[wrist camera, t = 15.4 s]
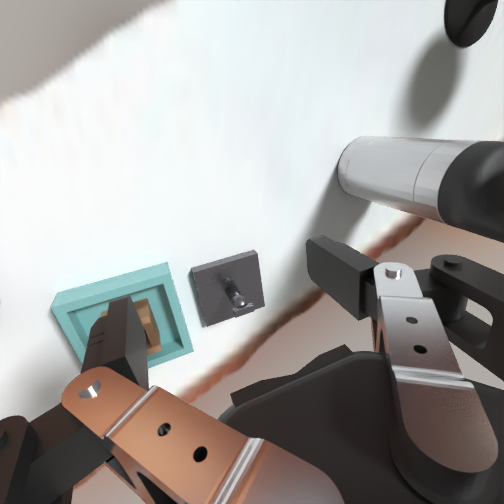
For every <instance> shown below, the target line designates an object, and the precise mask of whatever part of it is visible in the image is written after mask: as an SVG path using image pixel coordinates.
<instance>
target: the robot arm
mask: <svg viewBox="0 0 504 504" xmlns="http://www.w3.org/2000/svg"><path fill="white" fill-rule="evenodd" d="M338 180H339V183H340V185H341V187H342V189H343V190H344V191H345V192H346V193H348V194H350V195H353V196H356V197H360V198H363V199H366V200H369V201H372V202H375V203H378V204H382V205H385V206H388V207H391V208H394V209H398V210H401V211H404V212H407V213H411V214H414V215H417V216H420V217H423V218H427V219H430V220H434V221H437V222H440V223H443V224H446V225H450V226H453V227H456V228H460V229H463V230H466V231H469V232H472V233H475V234H478V235H481V236H484V237H487V238H490V239H494V240H497V241H500V242H503V243H504V142H500V141H473V140H445V139H421V138H396V137H374V136H364V137H360V138H358V139H355V140H354V141H353V142H351V143H350V144H349V145H348V147H347V148H346V149H345V151H344V152H343V154H342V156H341V158H340V161H339V165H338ZM306 253H307V267H308V273H309V276H310V278H311V279H312V280H313V282H315V283H316V284H317V285H318V286H319V287H320V288H321V289H323V290H324V291H325V292H326V293H327V294H328V295H330V296H331V297H332V298H333V299H334V300H335V301H336V302H338V303H339V304H340V305H341V306H342V307H343V308H344V309H346V310H347V311H348V312H349V313H350V314H351V315H353V316H354V317H355V318H356V319H357V320H358V321H359V320H362V319H364V318H366V317H368V316H370V317H371V318H372V319H371V328H372V338H373V349H374V352H371V351H358V352H352V351H351V350H350V349H349V348H348V347H347V346H346V345H345V344H344V345H342V346H340V347H337V348H335V349H332V350H330V351H328V352H326V353H323V354H321V355H319V356H318V357H316V358H315V359H314V360H312V361H311V362H310V363H308V364H307V365H306V366H305V367H303V368H302V369H301V370H300V371H298V372H297V373H295V374H292V375H288V376H283V377H278V378H272V379H267V380H261V381H259V382H257V383H254V384H252V385H249V386H247V387H245V388H243V389H240V390H238V391H236V392H233V393H231V394H230V395H231V398H232V402H233V405H232V406H231V407H229V408H228V409H227V410H226V411H225V412H224V413H223V414H222V415H221V416H220V417H219V418H218V419H215V418H213V417H211V416H210V415H208V414H206V413H204V412H203V411H201V410H199V409H197V408H196V407H194V406H192V405H190V404H189V403H187V402H185V401H183V400H182V399H180V398H178V397H176V396H175V395H173V394H171V393H169V392H167V391H166V390H164V389H162V388H160V387H158V386H155V385H154V386H152V387H151V388H150V389H149V383H148V363H147V343H146V335H145V331H144V328H143V325H142V322H141V320H140V318H139V315H138V313H137V310H136V308H135V306H134V303H133V301H132V299H131V297H130V296H129V295H128V296H125V297H122V298H119V299H116V300H112V301H110V302H109V306H108V312H107V315H106V316H103V317H100V318H98V319H97V320H96V322H95V323H94V324H93V326H92V327H91V329H90V334H89V339H88V343H87V348H86V352H85V356H84V361H83V365H82V370H81V374H80V375H79V376H77V377H76V378H75V379H74V380H72V381H71V382H70V384H69V385H68V386H67V387H66V389H65V390H64V392H63V394H62V398H61V403H60V404H58V405H57V406H55V407H54V408H52V409H51V410H49V411H47V412H46V413H44V414H43V415H41V416H39V417H38V418H36V419H34V420H33V421H31V422H28V421H27V420H26V419H25V418H24V417H22V416H11V417H7V418H4V419H2V420H0V504H71V500H72V492H73V486H74V485H75V484H76V483H78V482H79V481H80V480H82V479H83V478H84V477H86V476H87V475H88V474H90V473H91V472H92V471H93V470H95V469H96V468H97V467H99V466H100V465H101V464H105V465H106V466H107V467H108V468H109V469H110V470H111V471H112V472H113V473H114V474H115V475H116V476H118V477H119V478H120V479H121V480H122V481H123V482H124V483H125V484H126V485H127V486H128V487H129V488H130V489H132V490H133V491H134V492H135V493H136V494H137V495H138V496H139V497H140V498H141V499H142V500H143V501H144V502H145V503H146V504H504V390H501V389H498V388H495V387H491V386H488V385H485V384H482V383H479V382H475V381H472V380H469V379H466V378H464V376H463V374H462V372H461V369H460V367H459V364H458V362H457V359H456V357H455V355H454V352H453V350H452V347H451V345H450V342H452V343H453V344H454V345H456V346H457V347H458V348H460V349H461V350H462V351H464V352H465V353H467V354H468V355H469V356H470V357H472V358H473V359H474V360H476V361H477V362H478V363H480V364H481V365H483V366H484V367H485V368H487V369H488V370H489V371H491V372H492V373H493V374H495V375H496V376H497V377H499V378H500V379H502V380H503V381H504V274H502V273H499V272H497V271H495V270H492V269H490V268H488V267H485V266H483V265H481V264H479V263H476V262H474V261H472V260H469V259H467V258H465V257H461V256H457V255H439V256H436V257H434V258H432V260H431V265H430V269H424V270H416V271H413V269H412V268H410V267H409V266H407V265H405V264H401V263H395V262H386V263H381V264H380V263H378V262H376V261H374V260H373V259H371V258H369V257H367V256H366V255H364V254H362V253H361V254H360V252H358V251H357V250H354V249H353V248H351V247H349V246H348V245H346V244H342V243H338V242H334V241H332V240H330V239H328V238H327V237H325V236H319V237H315V238H312V239H309V240H307V242H306ZM468 298H469V299H471V300H472V301H474V302H476V303H478V304H480V305H481V306H483V307H485V308H486V309H487V310H488V311H489V312H490V313H491V315H492V317H493V323H492V326H490V325H488V324H487V323H485V322H484V321H482V320H480V319H479V318H477V317H475V316H474V315H472V314H470V313H468V312H467V311H465V310H466V306H467V301H468ZM449 341H450V342H449Z"/></svg>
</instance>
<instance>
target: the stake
mask: <svg viewBox="0 0 504 504" xmlns="http://www.w3.org/2000/svg"><path fill="white" fill-rule="evenodd" d="M191 269H192V273H193V277H194V281H195V285H196V288H197V292H198V296H199V300H200V304H201V307H202V311H203V315H204V319H205V322H206V325H207V327H208V326H210V325H213V324H216V323H219V322H222V321H224V320H227V319H230V318H233V317H235V318H236V317H239V316H242V315H245V314H247V313H250V312H253V311H254V310H255V309H258V308H261V307H264V306H265V304H264V297H263V290H262V282H261V275H260V268H259V261H258V253H257V252H256V251H255V250H252V251H248V252H245V253H241V254H238V255H235V256H231V257H228V258H224V259H221V260H218V261H214V262H211V263H207V264H204V265H200V266H197V267H194V268H191Z"/></svg>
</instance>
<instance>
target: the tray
mask: <svg viewBox="0 0 504 504" xmlns="http://www.w3.org/2000/svg"><path fill="white" fill-rule="evenodd" d="M128 295H129V296H130V297H131V299H132V301H133V302H135V301H139V300H142V299H145V298H147V299H148V301H149V304H150V307H151V310H152V312H153V315H154V318H155V321H156V323H157V326H158V329H159V334H160V341H161V348H162V351H159V352H156V353H153V354H151V355H148V356H147V363H148V368H151V367H153V366H156V365H159V364H161V363H164V362H167V361H169V360H172V359H175V358H177V357H180V356H183V355H185V354H188V353H191V352H193V351H194V350H193V347H192V343H191V340H190V336H189V333H188V329H187V326H186V323H185V319H184V316H183V313H182V310H181V306H180V303H179V300H178V296H177V293H176V290H175V286H174V283H173V280H172V276H171V273H170V270H169V267H168V263H167V262H166V263H162V264H159V265H155V266H152V267H148V268H144V269H141V270H137V271H134V272H130V273H127V274H123V275H120V276H116V277H112V278H109V279H105V280H102V281H98V282H95V283H91V284H87V285H84V286H80V287H77V288H73V289H70V290H66V291H63V292H59V293H57V295H56V297H55V299H54V301H53V304H52V306H51V309H52V311H53V313H54V315H55V317H56V318H57V320H58V322H59V324H60V326H61V327H62V329H63V331H64V333H65V335H66V336H67V338H68V340H69V342H70V344H71V345H72V347H73V349H74V351H75V353H76V354H77V356H78V358H79V360H80V362H81V363H82V365H83V361H84V356H85V352H86V348H87V343H88V339H89V334H90V329H91V327H92V326H93V324H94V323H95V322H96V320H97V319H98V318H100V317H101V313H102V312H103V311H106V310H108V306H109V302H110V301H112V300H116V299H119V298H122V297H125V296H128ZM143 328H144V326H143ZM144 330H145V328H144Z"/></svg>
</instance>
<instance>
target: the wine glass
mask: <svg viewBox="0 0 504 504" xmlns="http://www.w3.org/2000/svg"><path fill="white" fill-rule="evenodd" d="M497 3H498V0H447V2H446V8H445V23H446V29H447V33H448V35H449V37H450V39H451V40H452V42H453V43H454V44H456V45H458V46H461V47H466V46H469V45H472V44H474V43H475V42H477V41H478V40H479V39H480V38H481V37H482V36H483V35H484V33H485V32H486V31H487V29H488V27H489V26H490V24H491V22H492V20H493V17H494V14H495V11H496V8H497Z"/></svg>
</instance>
